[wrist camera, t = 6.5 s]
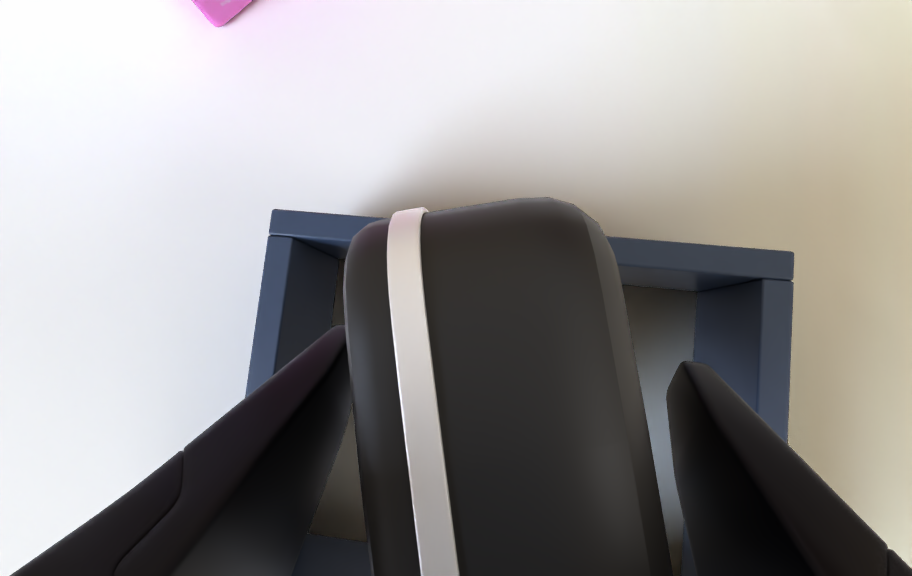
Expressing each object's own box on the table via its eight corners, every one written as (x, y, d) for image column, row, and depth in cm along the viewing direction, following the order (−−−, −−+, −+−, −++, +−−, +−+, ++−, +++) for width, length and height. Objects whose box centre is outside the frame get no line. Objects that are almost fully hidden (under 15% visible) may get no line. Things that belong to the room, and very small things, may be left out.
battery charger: (571, 464, 16) (766, 805, 4) (463, 476, 16) (384, 826, 5) (540, 267, 16) (639, 125, 5) (437, 282, 17) (317, 179, 5)
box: (703, 618, 15) (778, 722, 11) (280, 551, 16) (211, 622, 12) (721, 271, 16) (795, 250, 12) (322, 236, 17) (271, 208, 13)
